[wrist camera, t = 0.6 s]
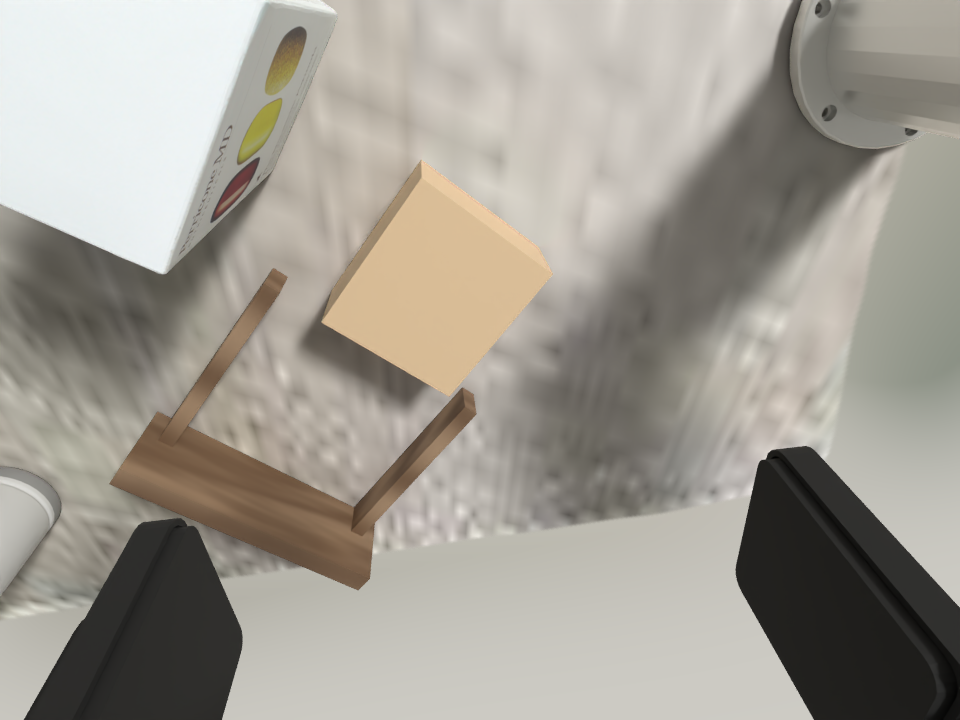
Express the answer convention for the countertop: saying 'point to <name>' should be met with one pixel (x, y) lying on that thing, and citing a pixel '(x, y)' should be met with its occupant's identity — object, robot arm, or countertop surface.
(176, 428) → the stand
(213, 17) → the supplement box
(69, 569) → the countertop surface
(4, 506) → the travel mug
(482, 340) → the kraft carton
